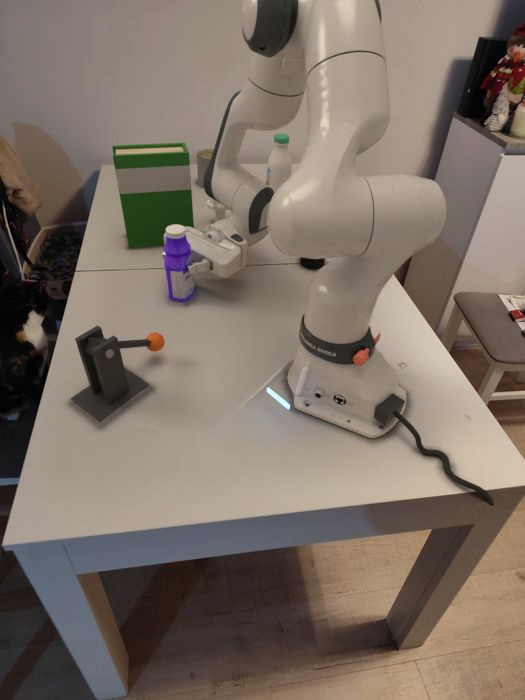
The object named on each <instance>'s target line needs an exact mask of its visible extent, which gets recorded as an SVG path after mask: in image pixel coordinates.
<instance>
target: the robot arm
mask: <svg viewBox="0 0 525 700" xmlns="http://www.w3.org/2000/svg"><path fill="white" fill-rule="evenodd" d="M240 21H241V31H242V37H243V39H244V41H245V43H246V45H247V46H248V49H249V50H250V51H252V52H251V56H250V61H249V65H248V70H247V76H246V80H245V83H244V86H243V88H242V89H241V90H238V91H236V92H235V93H233V95H232V96H231V98H230V100H229V102H228V103H227V106H226V109H225V111H224V115H223V117H222V121H221V124H220V127H219V131H218V134H217V138H216V141H215V145H214V147H213V148H214V151H213V155H212V158H211V160H210V162H209V164H208V166H207V168H206V170H205V173H204V177H203V183H204V187H203V190H204V192H205V194H206V196H208V197H209V198H210V197H211V198H212V199H214V200H216V201H217V202H219V203H221V204H222V205H224V206H225V207H226V208H228V210H229V211H230V216H229V217H225V219H221V220H219V221H217V222H215V221H214V222H213V223H211V224H209V225H207V226H205V227H204V228H203V230H202V231H201V230H199V229H197V228H195V227H194V228H192V227H189V226H184V227H185V231H186V239H187V241H188V243H189V244H190V246H191V249H190V251H191V253H192V256H193V263H192V262H191V263H189V264H187V265H186V272H188V273H190V274H194V275H195V273H199V272H200V273H202V272H207V271H209V272H211V273H213V274H214V275H217V276H219V277H221V278H230V277H231V276H233V275H235V274H236V273H238V272H240V270H241V269H244V268H245V267H247V266H248V257H249V252H248V251H249V248H251V247H253V246H254V245H256V244H258V243H259V242H260V241H262V240H263V239H264V238H266V237H267V236H268V235H269V237H270V239H271V241H272V243H273V245H274V246H275V247H276V249H277V250H278V251H280V253H282V255H284V256H289V257H295V258H310V259H323V258H325V259H333V260H332V261H330V262H328V263H326V264H324V266H323V267H322V268H320V269H317V270H316V272H315V273H314V274H313V276H312V277H311V279H310V281H309V283H308V286H307V293H306V302H305V308H304V313H303V314H302V316H301V319H300V326H299V333H298V338H299V343H298V348H297V351H296V354H295V357H294V360H293V362H292V364H291V365H290V367H289V369H288V372H287V376H286V377H287V384H288V386H289V388H290V391H291V393H292V395H293V405H294V408H295V409H296V410H298V411H300V412H302V413H305V414H307V415H311V416H313V417H316V418H318V419H320V420H323V421H325V422H328V423H331V424H333V425H336V426H338V427H340V428H343V429H345V430H347V431H351V432H353V433H356V434H358V435H361V436H363V437H366V438H369V439H376V438H379V437H381V436H384V435H385V434H387V433H388V432H389V431H391V430H392V429H393V428H394V427H395V426H396V425H397V423H398V422H400V423H401V424H402V425H403V426H404V427H406V429H407V430H408V431H409V433H411V435H412V436H413V438H414V440H415V445H416V447H417V449H418V451H419V452H420V453H422V454H423V455H425V456H437V457H439V458H441V460H442V462H443V470H444V472H445V474H446V475H447V476H448V477H449V478H450V479H451V480H452V481H454V482H455V483H456V484H458V485H460V486H462V487H465V488H468V489H470V490H472V491H474V492H476V493H478V494H479V495H481V497H483V499H484V500H485V502H486V504H488V505H489V506H491V507H493V506H494V504H495V502H494V500H493V498H492V497H491V495H490V494H489V493H488V492H487V490H485V489H484V488H483V487H481V486H479V485H477V484H476V483H473V482H470V481H468V480H465V479H463V478H462V477H460V476H458V475H457V474H455V473H454V472H453V471H452V469H451V464H450V459H449V457H448V455H447V454H446V453H445V452H443V451H442V450H440V449H439V450H438V449H428V448H426V447H425V446H424V445H423V443H422V437H421V436H420V434H419V432H418V431H417V429H416V428H415V426H414V425H413V424H411V423H410V422H409V420H408V419H406V418H405V417H404V416H403V414H404V411H405V408H406V404H407V392H406V389H404V388H403V387H402V386H401V385H399V377H398V373H397V371H396V369H395V367H393V366H392V364H391V363H390V362H389V361H388V360H387V358H385V356H384V354H383V353H382V352H381V351H379V350H378V348H377V347H376V345H377V344H378V342H379V341H380V338H381V335H382V333H381V332H379V333H378V334H377V335H376V336H375V338H374V335H373V334H372V329H371V325H370V324H371V321H372V317H373V314H374V310H375V308H376V305H377V302H378V300H379V297H380V295H381V293H382V291H383V289H384V288H385V286H386V285H387V283H388V282H389V280H390V279H391V278H392V277H393V276H394V274H396V272H398V270H399V269H400V268H401V267H402V266H403V264H405V263H406V262H407V261H408V260H409V259H411V257H413V256H414V255H415V254H417V253H418V252H419V251H421V250H423V249H424V248H427V247H428V246H429V245H431V244H433V242H434V241H435V240H437V238H438V237H439V236H440V234H441V232H442V230H443V228H444V226H445V223H446V218H447V201H446V197H445V194H444V191H443V190H442V188H441V186H440V185H439V184H438V182H436V180H433V179H430V178H427V177H421V176H416V175H411V174H406V173H393V174H367V175H364V174H363V175H361V174H357V171H356V159H357V156H360V155H361V154H363V153H365V152H366V151H368V150H369V149H370V148H372V147H374V145H376V144H377V143H378V142H379V141H380V140H381V139H382V138H383V137H384V135H385V133H386V132H387V129H388V127H389V125H390V120H391V106H390V93H389V79H388V66H387V55H386V54H387V53H386V46H385V39H384V34H383V28H382V8H381V3H380V0H242V2H241V9H240ZM305 92H306V99H307V140H306V144H305V148H304V153H303V154H302V157H301V160H300V162H299V163H298V166H297V167H296V169H295V170H294V171H293V173H291V177H290V178H289V179H288V180H287V181H286V182H285V183H283V184H282V185H281V186H280V187H279V188H278V189H277V191H276V192H275V194H274V191H273V189H272V188H270V187H269V186H268V185H267V184H266V182H264V181H263V180H261V179H260V178H259V177H257V176H255V175H254V174H252V172H250V171H248V170H247V169H245V167H243V165H242V164H241V163H240V162H239V159H238V157H239V156H238V155H239V153H240V150H241V147H242V144H243V141H244V139H245V136H246V132H247V130H255V131H260V132H261V131H263V132H269V131H270V132H271V131H275V130H276V131H277V130H280V129H283V128H284V127H286V126H288V125H290V123H292V122H293V120H295V119H296V117H297V115H298V114H299V111H300V109H301V106H302V104H303V103H302V102H303V99H304V95H305ZM165 243H166V233H165V234H164V245H165ZM164 245H163V246H164ZM165 254H166V252H165V251H164V250H163V251H162V252H161V259H163V260H164V259H165ZM266 393H268V394H269V395H270V396H271V397H272V398H274V399H275V400H276V401H277V402H278V403H280V404H281V405H282V406H283V407H284V408H286V409H287V410H290V407H291V405H290V403H288V402H287V401H286V400H285V399H284V398H282V397H281V396H280V395H278V394H277V393H276V392H275V391H273V390H272V389H271V388H270V387H267V388H266Z"/></svg>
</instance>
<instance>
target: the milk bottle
mask: <svg viewBox="0 0 525 700" xmlns="http://www.w3.org/2000/svg"><path fill="white" fill-rule="evenodd" d="M289 144H290V136H289V135H288V134H286V133H276V134H274V135H273V148H272V150H271V152H270V155H269V157H268V161H267V165H266V166H267V167H266V181H265V183H266V184H267V185H268V186H269V187H270V188H272V189H273V191H274V194H275V192H276V191H277V189H278V188H279V187H280V186H281V185H282V184H283V183H285V182H286V181H287V180H288V179H289V178H290V177H291V175H292V171H293V170H292V168H293V167H292V165H293V164H292V158H291V154H290V151H289Z"/></svg>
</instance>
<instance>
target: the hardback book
mask: <svg viewBox="0 0 525 700" xmlns="http://www.w3.org/2000/svg"><path fill="white" fill-rule="evenodd" d="M111 149H112V159H113V165H114V171H115V177H116V183H117V188H118V193H119V199H120V205H121V211H122V216H123V221H124V227H125V234H126V239H127V244H128V250H129V249H139V248H153V247H161V246H163V247H164V234H165V233H166V228H167V227H168V226H170V225H175V224H178V225H182V226H189V227H192V228H195V223H194V209H193V207H194V206H193V196H192V195H193V191H192V177H191V161H190V152H189V149H188V147H187V144H186V142H166V143H165V142H164V143H139V144H117V145H116V144H115V145H113V144H112V146H111Z"/></svg>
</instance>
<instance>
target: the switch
mask: <svg viewBox="0 0 525 700" xmlns="http://www.w3.org/2000/svg"><path fill="white" fill-rule="evenodd" d="M107 339H108V338H105V336H104V337H90V338H89V339H88V343H87V347H86V352H88V353H89V354H91V355H92V352H91V349H92V348H94V347H95V346H97V345H99V344H100V343H102V342H104V341H105V340H107ZM165 342H166V341H165V338H164V336H163V335H162V334H161V333H160V332H151V333H149V334H148V335H147V336H145V338H142V339H129V340H128V339H127V340H118V343H119V347H120V350H121V349H134V348H142V347H143V348H145V347H146V348H147V350H148V351H150V352H153V353H154V352H155V353H156V352H160V351H161V350H163V348H164V347H165V344H166V343H165ZM92 356H93V355H92Z"/></svg>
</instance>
